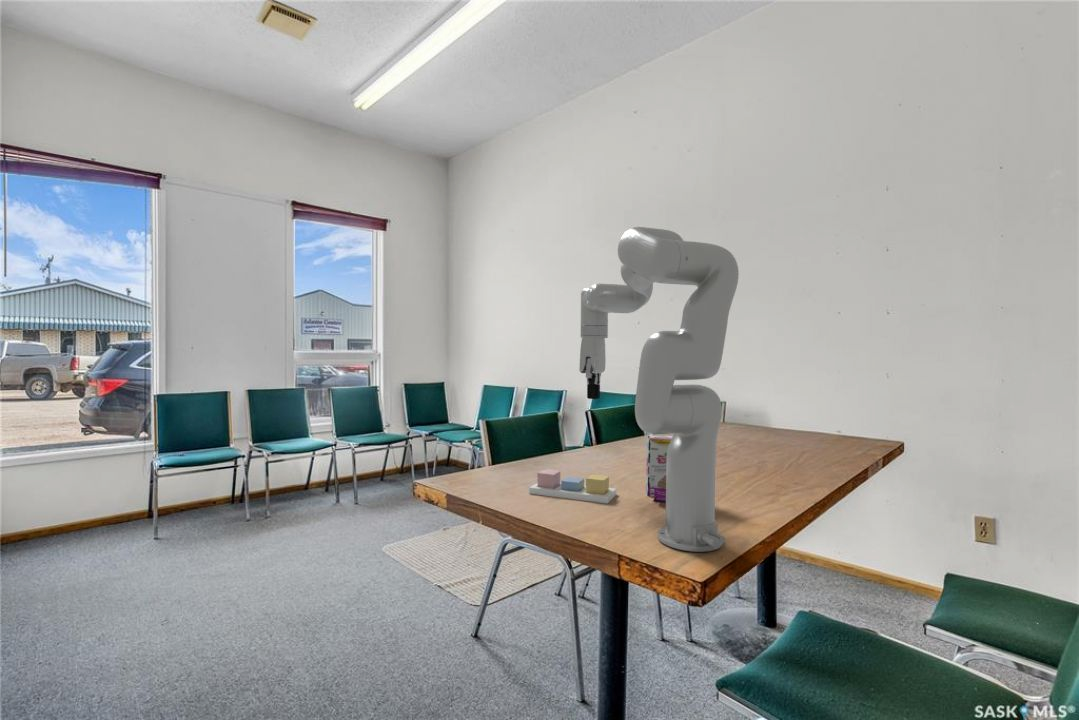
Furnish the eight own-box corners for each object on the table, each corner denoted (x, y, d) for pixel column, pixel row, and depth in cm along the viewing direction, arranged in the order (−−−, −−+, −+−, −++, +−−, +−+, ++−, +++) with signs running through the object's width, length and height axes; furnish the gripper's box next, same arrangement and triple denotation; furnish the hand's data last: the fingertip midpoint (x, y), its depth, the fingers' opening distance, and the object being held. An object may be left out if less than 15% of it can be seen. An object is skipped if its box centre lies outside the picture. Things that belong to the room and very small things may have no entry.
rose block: (560, 489, 135) (560, 471, 135) (553, 494, 131) (554, 474, 131) (544, 487, 137) (544, 469, 137) (537, 492, 133) (537, 473, 132)
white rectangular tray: (616, 500, 131) (616, 488, 131) (607, 509, 123) (607, 497, 123) (541, 490, 139) (541, 480, 139) (529, 499, 131) (529, 487, 131)
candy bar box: (647, 502, 129) (648, 438, 129) (645, 496, 134) (646, 434, 134) (692, 504, 128) (693, 439, 128) (688, 498, 133) (689, 435, 133)
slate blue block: (583, 497, 132) (584, 478, 132) (578, 502, 128) (578, 482, 128) (567, 495, 134) (567, 476, 134) (561, 500, 130) (561, 480, 130)
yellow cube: (608, 495, 130) (608, 476, 130) (603, 500, 126) (603, 480, 125) (591, 493, 132) (591, 474, 131) (585, 498, 127) (586, 478, 127)
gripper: (589, 333, 150) (588, 395, 150) (572, 331, 136) (571, 400, 136) (614, 333, 147) (613, 397, 147) (599, 331, 133) (598, 401, 133)
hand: (593, 398), depth 142 cm, fingers closed
